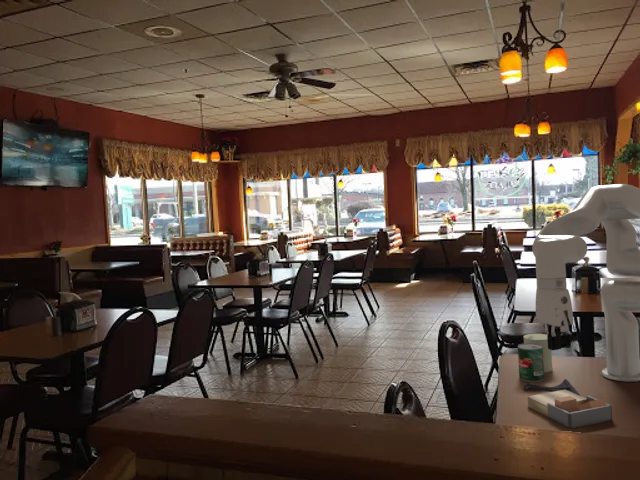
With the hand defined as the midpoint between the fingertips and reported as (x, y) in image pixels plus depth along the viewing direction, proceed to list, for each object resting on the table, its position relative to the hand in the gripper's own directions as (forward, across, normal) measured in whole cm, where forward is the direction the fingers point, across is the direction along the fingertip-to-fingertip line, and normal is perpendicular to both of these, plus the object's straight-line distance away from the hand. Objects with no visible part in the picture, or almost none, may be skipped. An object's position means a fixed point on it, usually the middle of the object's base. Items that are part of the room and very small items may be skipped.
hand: (554, 348), depth 152 cm
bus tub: (+18, -5, -2) cm, 19 cm away
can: (+19, +36, -21) cm, 46 cm away
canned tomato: (+19, +28, -13) cm, 36 cm away
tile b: (+15, -3, 0) cm, 16 cm away
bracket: (+20, +17, -10) cm, 28 cm away
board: (+18, +3, -2) cm, 19 cm away
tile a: (+14, -6, -6) cm, 17 cm away
